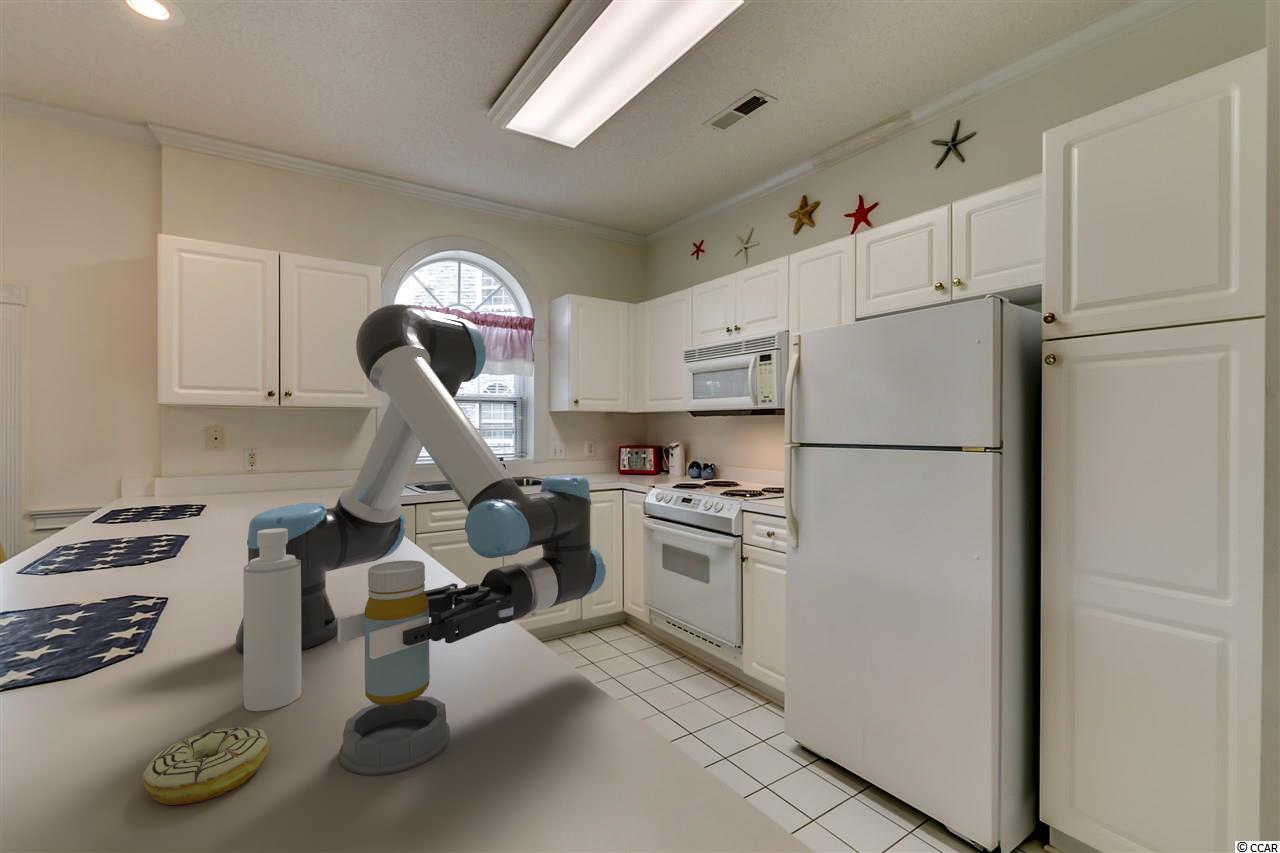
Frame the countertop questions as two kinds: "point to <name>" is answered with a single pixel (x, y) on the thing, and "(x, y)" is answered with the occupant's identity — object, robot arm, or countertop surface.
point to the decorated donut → (205, 765)
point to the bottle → (390, 604)
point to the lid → (394, 736)
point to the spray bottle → (272, 624)
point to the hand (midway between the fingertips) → (354, 637)
